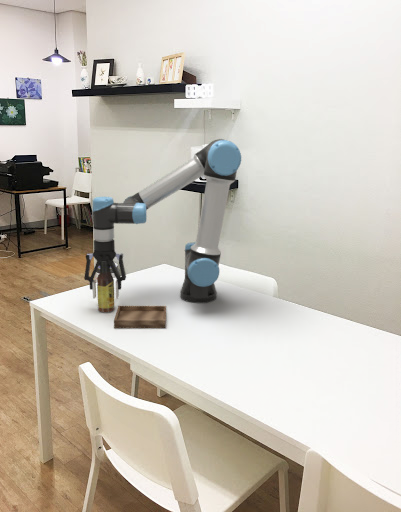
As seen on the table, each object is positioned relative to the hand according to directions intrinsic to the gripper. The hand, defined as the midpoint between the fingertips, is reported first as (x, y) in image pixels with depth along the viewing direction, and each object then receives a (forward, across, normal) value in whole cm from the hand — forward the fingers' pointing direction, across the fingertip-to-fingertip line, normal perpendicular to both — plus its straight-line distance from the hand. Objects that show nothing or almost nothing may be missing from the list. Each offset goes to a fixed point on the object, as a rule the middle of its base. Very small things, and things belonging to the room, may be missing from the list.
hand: (106, 297), depth 186 cm
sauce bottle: (+5, 0, 0) cm, 5 cm away
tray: (+5, -14, +10) cm, 18 cm away
